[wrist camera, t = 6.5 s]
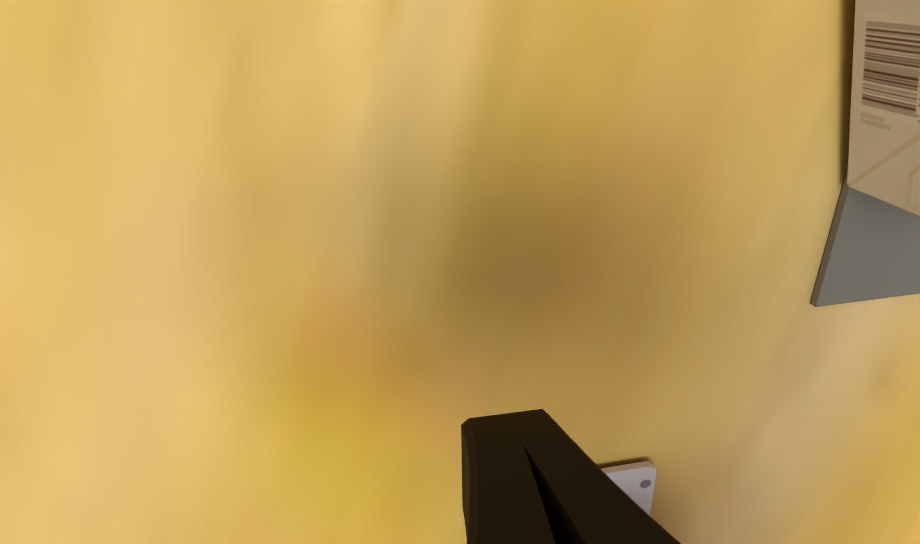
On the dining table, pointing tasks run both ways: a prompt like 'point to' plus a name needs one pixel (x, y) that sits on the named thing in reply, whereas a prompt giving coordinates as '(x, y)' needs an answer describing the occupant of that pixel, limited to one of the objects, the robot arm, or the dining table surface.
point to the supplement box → (886, 102)
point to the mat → (868, 252)
